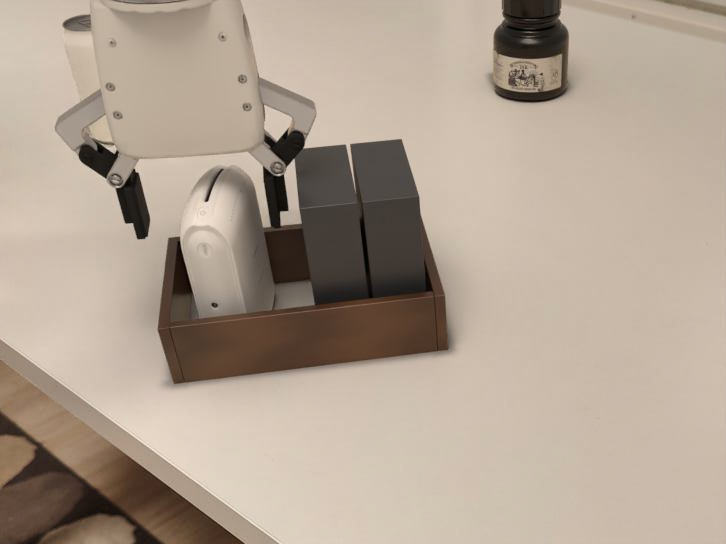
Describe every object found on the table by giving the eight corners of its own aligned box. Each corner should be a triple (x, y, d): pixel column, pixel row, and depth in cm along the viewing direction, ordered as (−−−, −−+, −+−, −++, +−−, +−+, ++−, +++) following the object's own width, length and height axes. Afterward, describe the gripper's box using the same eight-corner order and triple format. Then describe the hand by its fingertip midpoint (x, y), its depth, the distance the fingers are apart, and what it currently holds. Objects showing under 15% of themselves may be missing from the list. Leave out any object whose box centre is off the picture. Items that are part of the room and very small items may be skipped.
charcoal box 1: (322, 353, 73) (299, 208, 65) (315, 286, 80) (293, 148, 72) (374, 347, 73) (357, 202, 65) (362, 281, 80) (345, 143, 72)
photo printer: (260, 364, 72) (227, 213, 63) (204, 365, 72) (163, 214, 64) (281, 292, 79) (255, 149, 71) (231, 293, 79) (198, 150, 71)
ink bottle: (480, 98, 113) (478, -12, 105) (503, 72, 119) (502, -33, 111) (559, 106, 110) (563, -5, 102) (578, 79, 116) (583, -28, 108)
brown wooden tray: (177, 396, 71) (157, 329, 67) (185, 301, 81) (167, 237, 77) (448, 362, 73) (445, 295, 69) (424, 273, 83) (419, 210, 79)
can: (106, 150, 104) (72, 35, 96) (83, 132, 108) (48, 20, 100) (160, 134, 107) (131, 21, 99) (136, 117, 111) (106, 7, 102)
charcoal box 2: (378, 346, 73) (361, 202, 65) (366, 281, 80) (349, 143, 72) (429, 340, 74) (419, 196, 66) (412, 275, 81) (401, 138, 73)
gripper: (297, -53, 62) (325, 193, 74) (20, -42, 59) (94, 210, 71) (302, -20, 56) (332, 240, 68) (-3, -5, 54) (82, 261, 66)
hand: (210, 224), depth 70 cm, fingers open, 9 cm apart
